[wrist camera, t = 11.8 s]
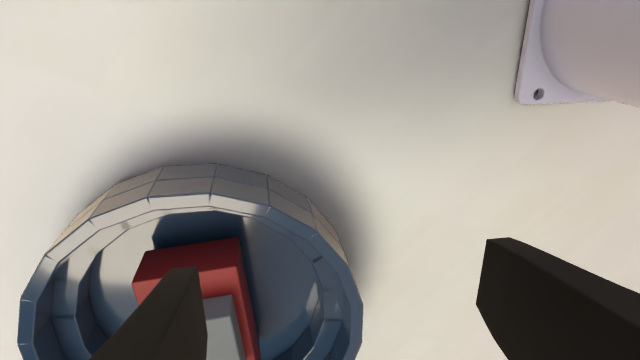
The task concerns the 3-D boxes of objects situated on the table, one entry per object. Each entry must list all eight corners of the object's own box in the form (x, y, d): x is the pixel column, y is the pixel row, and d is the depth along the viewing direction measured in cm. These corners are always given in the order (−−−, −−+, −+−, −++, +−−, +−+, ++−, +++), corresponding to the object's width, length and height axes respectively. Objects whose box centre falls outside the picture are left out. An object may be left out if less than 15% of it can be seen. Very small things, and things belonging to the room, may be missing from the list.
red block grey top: (238, 230, 20) (235, 287, 16) (260, 341, 22) (262, 415, 18) (147, 243, 19) (120, 306, 15) (181, 355, 22) (165, 434, 18)
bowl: (347, 150, 19) (368, 181, 16) (344, 373, 25) (358, 431, 22) (21, 169, 18) (-36, 209, 14) (95, 405, 23) (67, 476, 20)
